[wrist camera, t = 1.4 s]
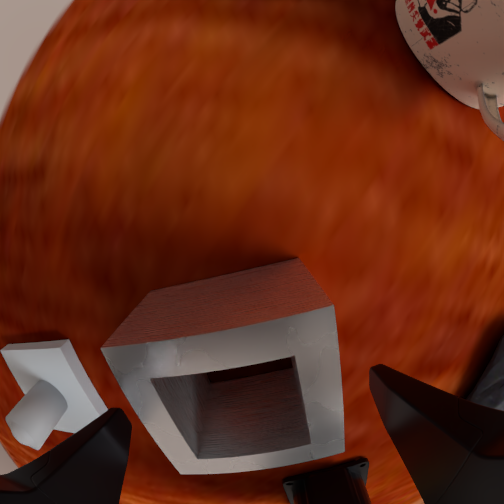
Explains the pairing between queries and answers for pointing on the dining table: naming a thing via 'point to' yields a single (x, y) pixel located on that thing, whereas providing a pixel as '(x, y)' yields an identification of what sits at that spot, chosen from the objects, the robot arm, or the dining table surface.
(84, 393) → the shaft base
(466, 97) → the teacup with lid
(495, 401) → the dark slate chunk
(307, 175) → the dining table surface
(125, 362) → the collar
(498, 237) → the dining table surface
